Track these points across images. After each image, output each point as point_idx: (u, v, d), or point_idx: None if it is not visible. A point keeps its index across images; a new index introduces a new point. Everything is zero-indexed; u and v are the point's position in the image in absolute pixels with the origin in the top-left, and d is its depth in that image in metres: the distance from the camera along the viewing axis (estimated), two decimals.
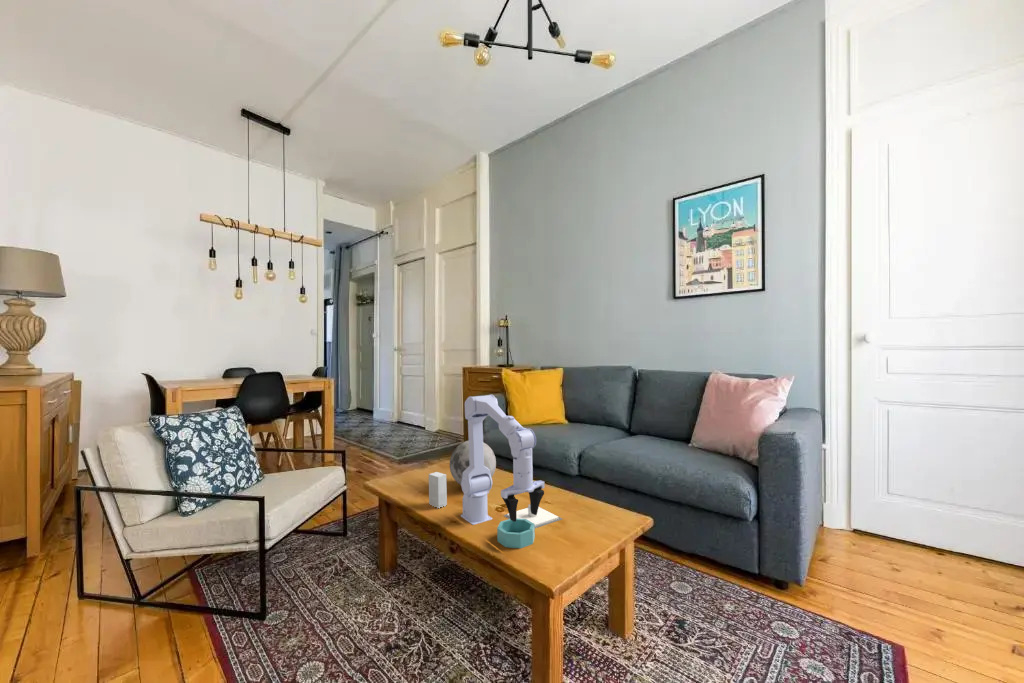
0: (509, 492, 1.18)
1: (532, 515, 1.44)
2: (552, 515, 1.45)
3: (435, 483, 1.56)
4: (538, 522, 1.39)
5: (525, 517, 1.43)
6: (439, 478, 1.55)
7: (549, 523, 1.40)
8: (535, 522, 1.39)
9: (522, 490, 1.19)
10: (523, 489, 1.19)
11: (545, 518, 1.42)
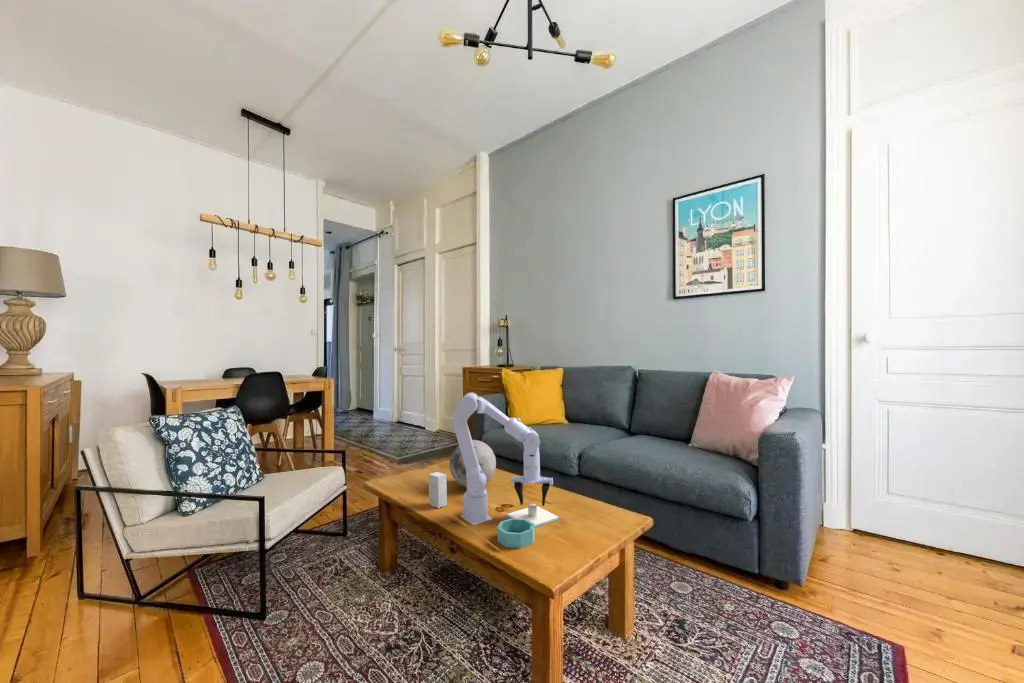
0: (515, 479, 1.45)
1: (532, 515, 1.44)
2: (552, 515, 1.45)
3: (435, 483, 1.56)
4: (538, 522, 1.39)
5: (525, 517, 1.43)
6: (439, 478, 1.55)
7: (549, 523, 1.40)
8: (535, 522, 1.39)
9: (525, 480, 1.43)
10: (526, 480, 1.43)
11: (545, 518, 1.42)
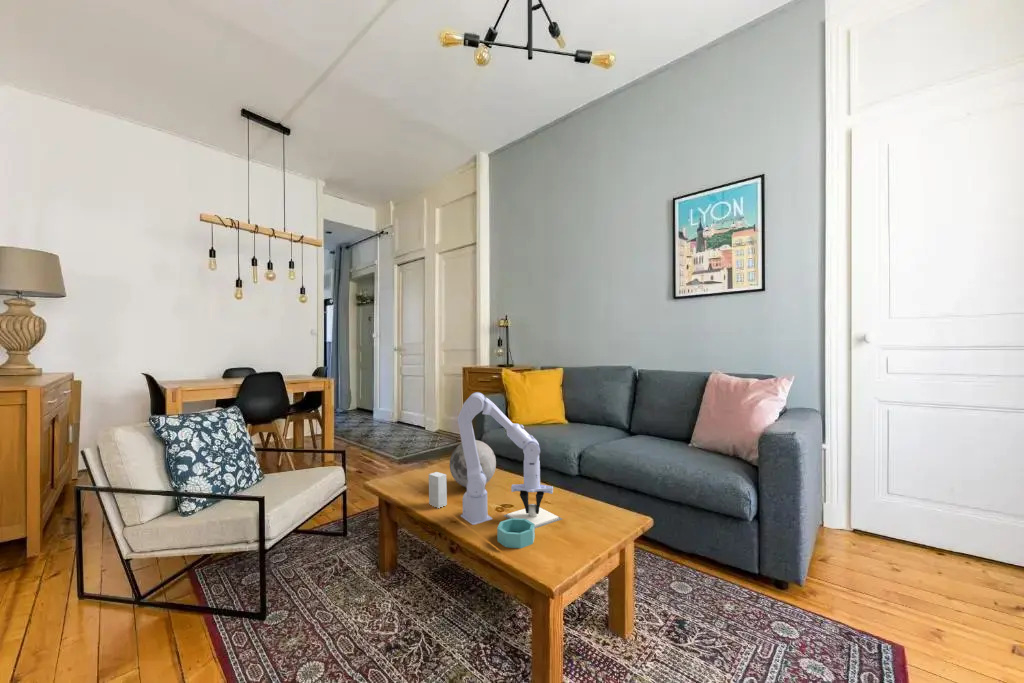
0: (515, 487, 1.45)
1: (532, 515, 1.44)
2: (552, 515, 1.45)
3: (435, 483, 1.56)
4: (538, 522, 1.39)
5: (525, 517, 1.43)
6: (439, 478, 1.55)
7: (549, 523, 1.40)
8: (535, 522, 1.39)
9: (525, 489, 1.43)
10: (526, 488, 1.43)
11: (545, 518, 1.42)
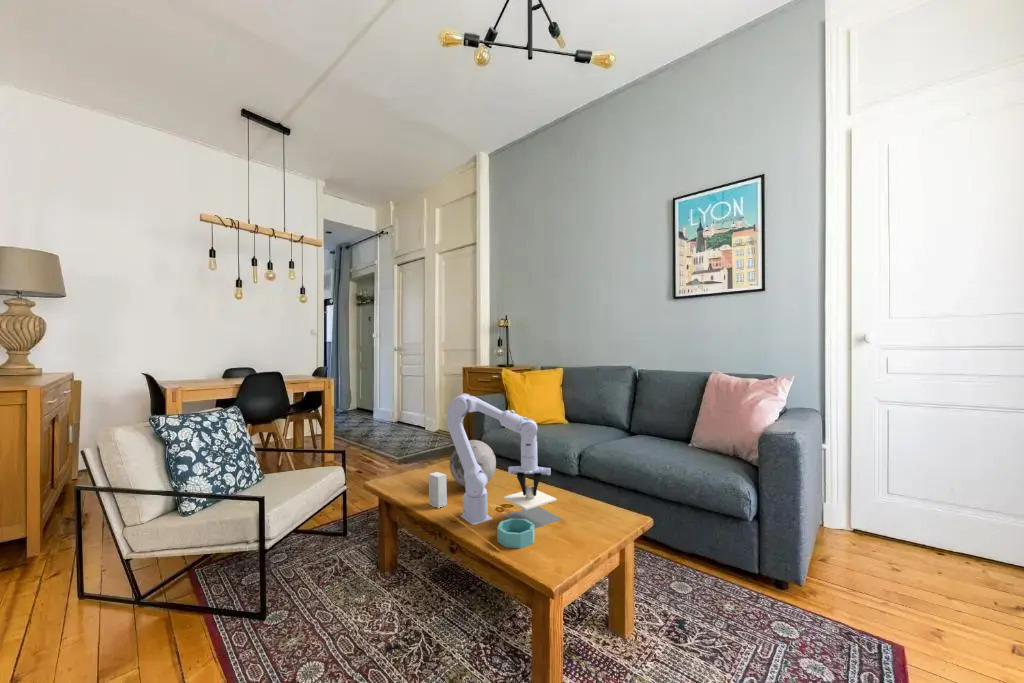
0: (512, 469, 1.43)
1: (529, 497, 1.41)
2: (550, 497, 1.43)
3: (435, 483, 1.56)
4: (536, 504, 1.37)
5: (522, 499, 1.41)
6: (439, 478, 1.55)
7: (549, 523, 1.40)
8: (532, 504, 1.37)
9: (522, 470, 1.41)
10: (523, 470, 1.41)
11: (543, 500, 1.40)
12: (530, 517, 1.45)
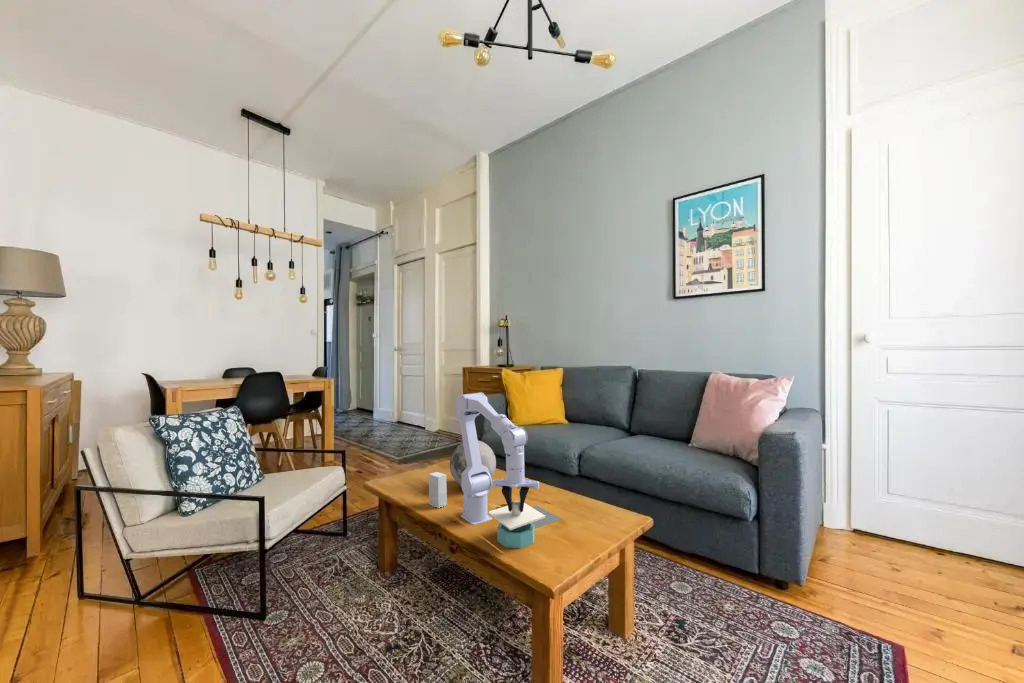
0: (496, 482, 1.29)
1: (515, 514, 1.28)
2: (539, 513, 1.29)
3: (435, 483, 1.56)
4: (521, 522, 1.24)
5: (508, 516, 1.28)
6: (439, 478, 1.55)
7: (549, 523, 1.40)
8: (518, 522, 1.24)
9: (507, 484, 1.27)
10: (508, 483, 1.27)
11: (530, 518, 1.26)
12: None
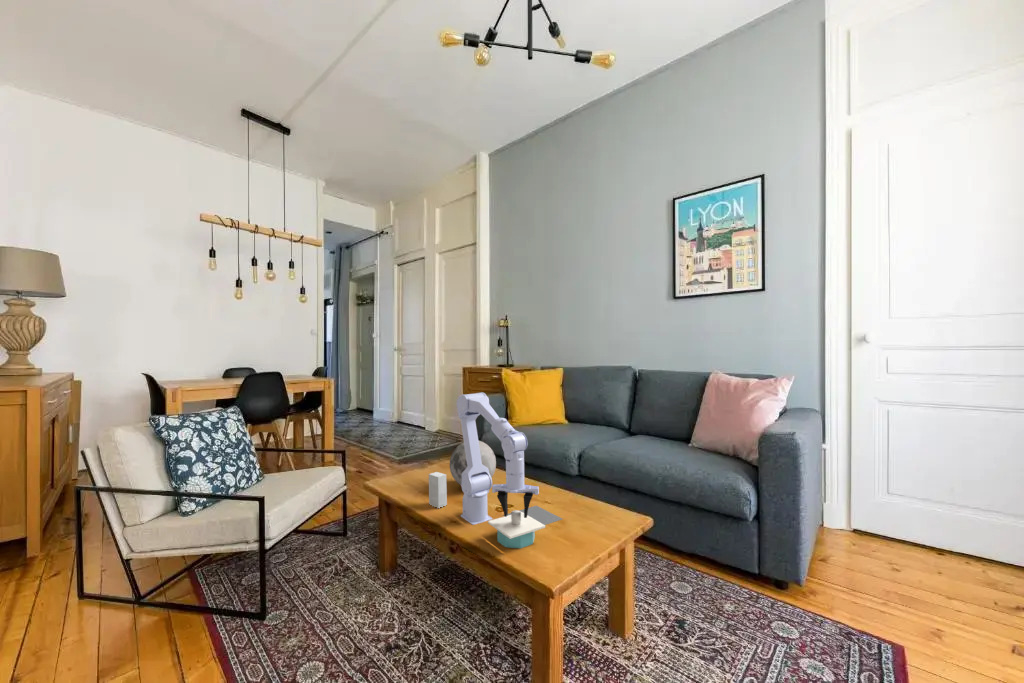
0: (496, 488, 1.29)
1: (515, 523, 1.28)
2: (539, 523, 1.29)
3: (435, 483, 1.56)
4: (521, 531, 1.23)
5: (507, 525, 1.28)
6: (439, 478, 1.55)
7: (549, 523, 1.40)
8: (518, 531, 1.24)
9: (507, 489, 1.27)
10: (508, 489, 1.27)
11: (530, 527, 1.26)
12: None
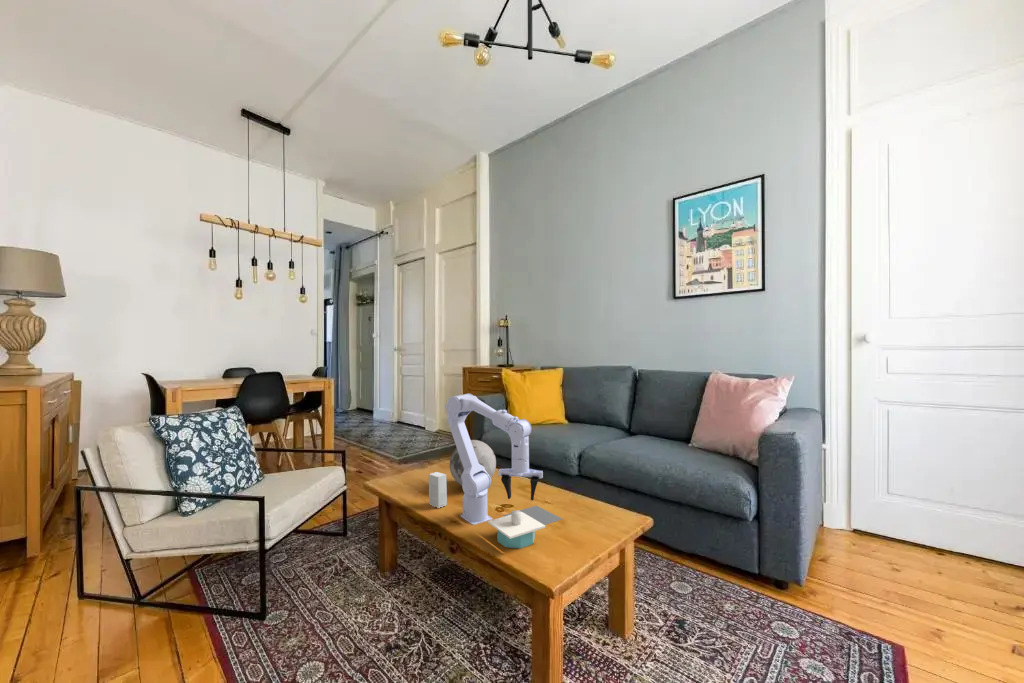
0: (502, 472, 1.36)
1: (515, 523, 1.28)
2: (539, 523, 1.29)
3: (435, 483, 1.56)
4: (521, 531, 1.23)
5: (507, 525, 1.28)
6: (439, 478, 1.55)
7: (549, 523, 1.40)
8: (518, 531, 1.24)
9: (513, 473, 1.34)
10: (514, 472, 1.34)
11: (530, 527, 1.26)
12: None
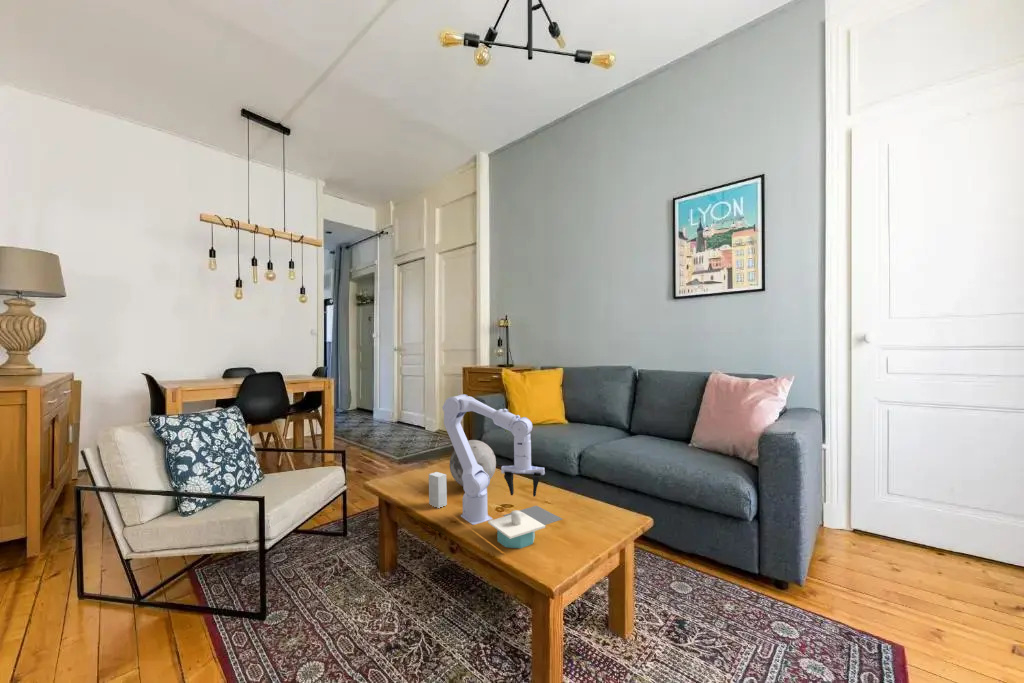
0: (505, 469, 1.39)
1: (515, 523, 1.28)
2: (539, 523, 1.29)
3: (435, 483, 1.56)
4: (521, 531, 1.23)
5: (507, 525, 1.28)
6: (439, 478, 1.55)
7: (549, 523, 1.40)
8: (518, 531, 1.24)
9: (515, 470, 1.37)
10: (516, 469, 1.37)
11: (530, 527, 1.26)
12: None
